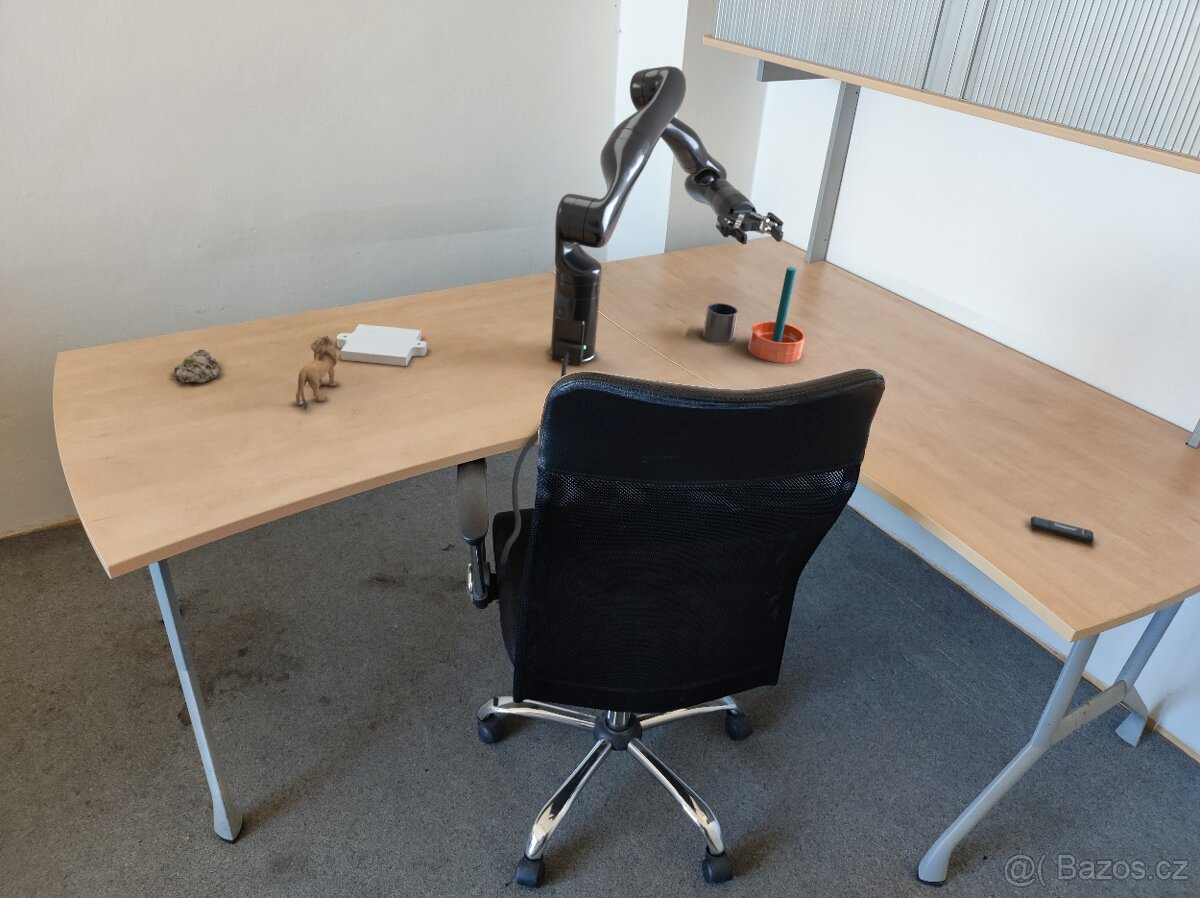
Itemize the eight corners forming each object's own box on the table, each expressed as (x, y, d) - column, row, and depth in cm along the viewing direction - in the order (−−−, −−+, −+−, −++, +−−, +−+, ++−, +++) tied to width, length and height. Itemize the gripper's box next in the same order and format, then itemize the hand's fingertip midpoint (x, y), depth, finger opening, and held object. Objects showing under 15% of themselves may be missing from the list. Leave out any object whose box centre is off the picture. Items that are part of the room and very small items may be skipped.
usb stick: (1029, 529, 145) (1032, 521, 145) (1028, 520, 148) (1031, 513, 147) (1091, 545, 143) (1095, 537, 142) (1089, 536, 145) (1093, 529, 144)
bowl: (797, 369, 190) (802, 347, 187) (744, 358, 192) (748, 337, 189) (802, 347, 199) (807, 327, 197) (751, 337, 202) (755, 317, 199)
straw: (778, 353, 194) (795, 271, 184) (769, 351, 195) (786, 269, 185) (779, 350, 196) (796, 268, 186) (770, 348, 196) (787, 266, 186)
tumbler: (730, 346, 196) (735, 317, 193) (700, 340, 198) (704, 311, 194) (734, 335, 202) (740, 306, 198) (705, 329, 203) (710, 301, 200)
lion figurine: (314, 373, 170) (310, 330, 165) (342, 375, 170) (339, 332, 165) (291, 410, 157) (286, 365, 152) (321, 413, 157) (317, 367, 153)
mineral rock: (214, 375, 161) (167, 362, 159) (210, 395, 163) (164, 383, 161) (230, 351, 170) (186, 339, 168) (226, 370, 172) (183, 358, 170)
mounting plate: (328, 358, 175) (327, 349, 174) (347, 331, 186) (347, 322, 185) (419, 367, 175) (418, 358, 174) (432, 339, 186) (432, 331, 185)
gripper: (707, 194, 201) (736, 225, 189) (763, 191, 205) (795, 221, 193) (702, 225, 206) (730, 257, 194) (757, 221, 210) (788, 252, 198)
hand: (763, 239), depth 194 cm, fingers open, 8 cm apart
